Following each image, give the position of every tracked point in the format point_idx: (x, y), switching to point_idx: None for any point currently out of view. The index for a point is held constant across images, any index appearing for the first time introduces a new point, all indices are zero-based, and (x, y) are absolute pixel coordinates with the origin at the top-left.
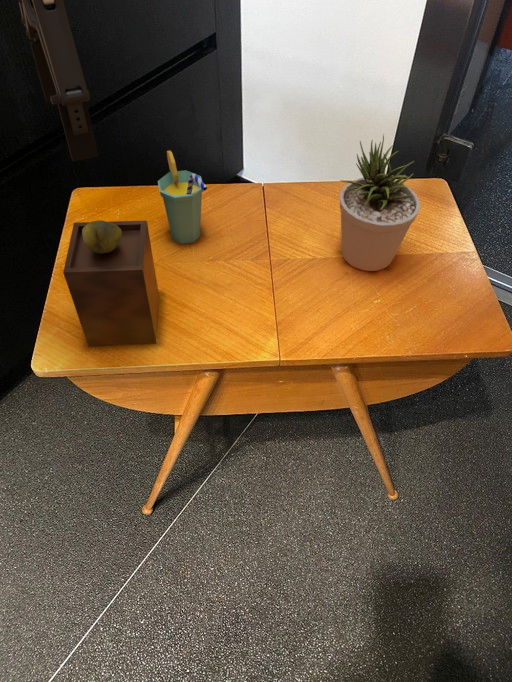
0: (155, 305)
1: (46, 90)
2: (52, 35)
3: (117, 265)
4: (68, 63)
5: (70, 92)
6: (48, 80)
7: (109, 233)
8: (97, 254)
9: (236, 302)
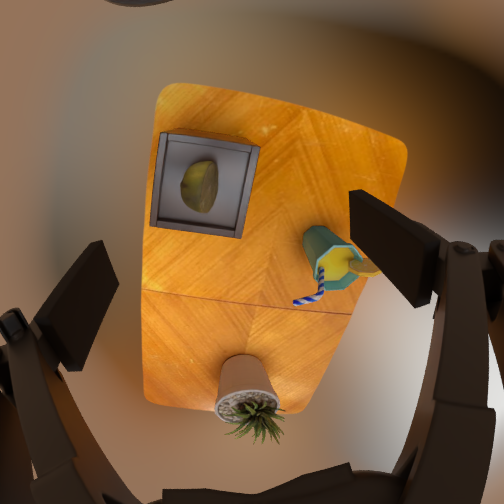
0: None
1: (361, 205)
2: None
3: (172, 194)
4: None
5: None
6: (371, 223)
7: (185, 202)
8: None
9: (208, 269)
